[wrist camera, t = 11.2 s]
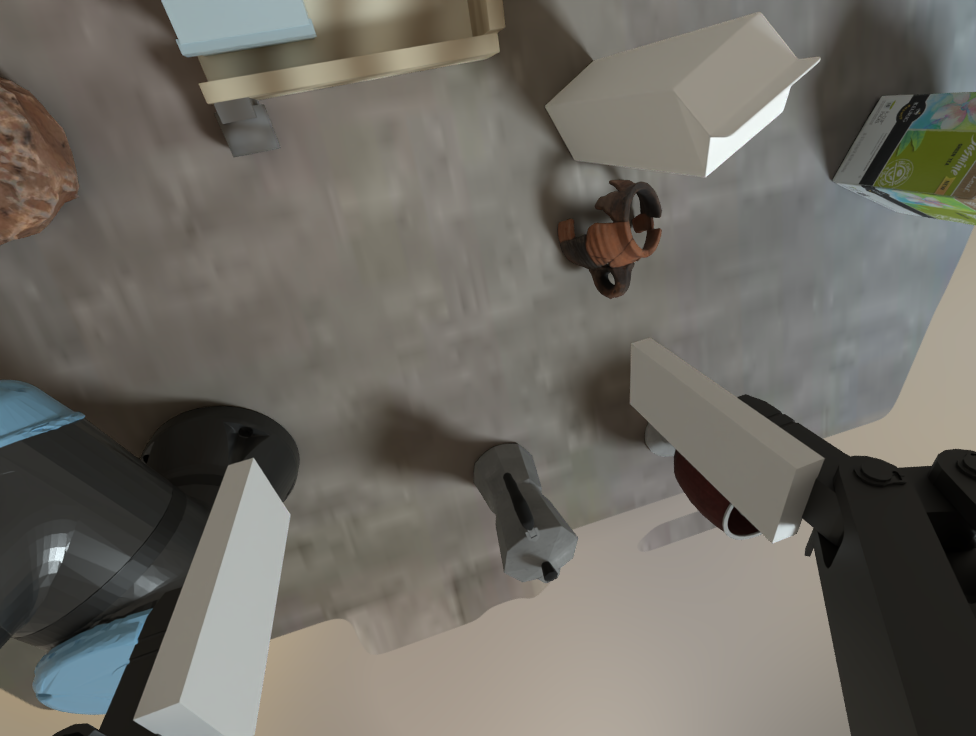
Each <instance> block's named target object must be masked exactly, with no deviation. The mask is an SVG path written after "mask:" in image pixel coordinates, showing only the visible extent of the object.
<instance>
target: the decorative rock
mask: <svg viewBox="0 0 976 736" xmlns="http://www.w3.org/2000/svg"><path fill="white" fill-rule="evenodd" d="M77 177H78V176H77V172H76V167H75V163H74V159H73V155H72V151H71V149H70V146H69V144H68V140H67V137H66V134H65V132H64V129H63V128H62V127H61V126H60V125H59V124H58V123H57V122H56V121H55V119H54V118H53V117H52V116H51V115H50V114H49V113H48V112H47V110H46V109H45V108H44V106H43V105H42V104H41V103H40V102H39V101H38V100H37V99H36V98H35V97H34V96H33V95H32V94H31V93H30V92H29V91H28V90H26V89H24V88H22V87H20V86H19V85H17V84H15V83H14V82H13V81H10V80H6V79H3V78H1V77H0V245H2V244H4V243H6V242H9V241H12V240H16V239H20V238H24V237H28V236H31V235H34V234H37V233H40V232H41V231H42V230H43V229H44V228H45V227H47V226H48V225H49V224H50V222H51V221H52V220H53V218H54V217H55V216H56V214H57V213H58V211H59V210H60V208H61V207H62V206H63V205H64V203H65V202H68V201H71V200H73V199H75V198H79V196H78V194H77V193H78V190H79V187H80V186H79V183H78V178H77Z"/></svg>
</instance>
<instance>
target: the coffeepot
mask: <svg viewBox="0 0 976 736" xmlns="http://www.w3.org/2000/svg"><path fill="white" fill-rule="evenodd" d="M474 484H475V485H476V487H477V488H478V490H479V492H480V493H481V495H482V496H483V498H484V500H485V501H486V503H487V504H488V506H489V508H490V509H491V511H492V512H493V513H495V514H496V530H497V536H498V541H499V547H500V552H501V558H502V563H503V569H504V573H506V574H508V575H509V576H511V577H513V578H515V579H517V580H519V581H521V582H526V581H530V580H535V579H539V580H540V581H542V582H544V583H548V582H550V581H553V580H554V579H557V578H558V576H559V572H560V568H561V567H562V566H564V565H565V564H566V563H567V562H569V561H570V560H571V559H572V558H573V556H574V552H575V548H576V544H577V540H578V537H577V536H576V534H575V533H574V532H573V530H572V529H571V528H570V526H569V525H568V524H567V523H566V521H565V520H564V519H563V517H562V516H561V515H560V514H559V512H558V511H557V510H556V508H555V507H554V506H553V504H552V503H551V502H550V501H549V500H548V499H547V498H546V497H545V496H544V495H542V493H541V484H540V481H539V477H538V474H537V470H536V467H535V464H534V460H533V457H532V455H531V454H530V453H529V452H528V451H526V450H525V449H524V448H523V447H521V446H520V445H519V444H502V445H498V446H495V447H493V448H491V449H489V450H488V451H486V452H485V453H484V454H483V455H482V456H481V457H480V458H479V459H478V461H477V462H476V463H475V468H474Z"/></svg>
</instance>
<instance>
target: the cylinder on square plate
mask: <svg viewBox="0 0 976 736" xmlns="http://www.w3.org/2000/svg"><path fill="white" fill-rule="evenodd" d="M161 1H162V3H163V6H164V8H165V10H166V12H167V15H168V17H169V19H170V21H171V24H172V26H173V28H174V30H175V33H176V35H177V37H178V39H175V40H176V42H177V44H178V46H179V49H180V51H181V53H182V55H183V56H186V57H193V56H199V55H203V56H211V55H217V54H223V53H229V52H236V51H242V50H248V49H254V48H260V47H267V46H273V45H279V44H285V43H292V42H298V41H304V40H310V39H315V37H317V36H316V33H315V30H314V26H313V23H312V20H311V19H309V17H308V13H307V10H306V7H305V4H304V0H161Z"/></svg>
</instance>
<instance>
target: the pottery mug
mask: <svg viewBox="0 0 976 736" xmlns="http://www.w3.org/2000/svg"><path fill="white" fill-rule="evenodd" d="M609 183H610V184H611V185H613V186H614V187H616V189H617V190H618V191H619V192H618V191H614V192H611V193H609V194H607V195H606V196H603V197H600V198H599V199H598V201H597V202H596V204H595V208H596V209H598V210H603V211H604V212H605V213H606V214H607V215H609V216H610V218H611V219H612V220H613V223H594V224H593V225H591V226H590V227H589V228H588V231H587V235H583V236H581V237H578V238H576V237H575V233H574V220H573V219H567V220H566V221H562V222H559V224H558V237H559V241H560V246H561V248H562V252H563V253H564V255H565V256H566V258H567V259H568V260H569V261H571V262H573V263H575V264H578V265H580V266H582V267H585V268H587V269H589V271H590V273H591V275H592V278H593V281H594V284H595V286H596V288H597V290H598V291H599V292H600V293H601V294H602V295H604V296H606V297H608V298H610V299H612V298H614V297H615V298H617V297H619V296H622V295H623V294H624V293H625V292H626V291H627V290H628V288H629V285H630V280H631V271H632V269H633V267H634V262H635V261H638V260H639V259H640V258H641V257H642V258H645V257H648V256H650V255H651V254H652V253H653V252H654V251H655V250H656V248H657V246H658V244H659V241H660V237H661V232H662V230H661V229H660V228H658V229H654V222H653V217H655V218H660V217H661V213H662V210H661V205H660V202H659V199H658V196H657V194H656V192H655V191H654V189H653V188H652V187H651V186H650V185H649V184H648V183H645V182H638V183H636V184H635V183H633V182H632V181H630V180H610V181H609ZM635 194H637V195H638V197H639V200H640V212H641V214H639V215H638V216H636V217H635V218H634V219H633V220H632V223H633V228H634V231H635V232H636V233H641V232H643V231H647V236H646V241H645V244H644V247H643V249H641V248H640V247H639V246H638V245H637V244H636V242H635V241H634V239H633V236H632V233H631V229H630V223H629V213H630V206H631V202H632V199H633V197H634V195H635ZM607 263H608V264H607ZM610 272H611V274H612V275H613V277H614V280H615V285H613V284H612V283H611V282H610V281H609V279H608V274H609V273H610Z"/></svg>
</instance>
